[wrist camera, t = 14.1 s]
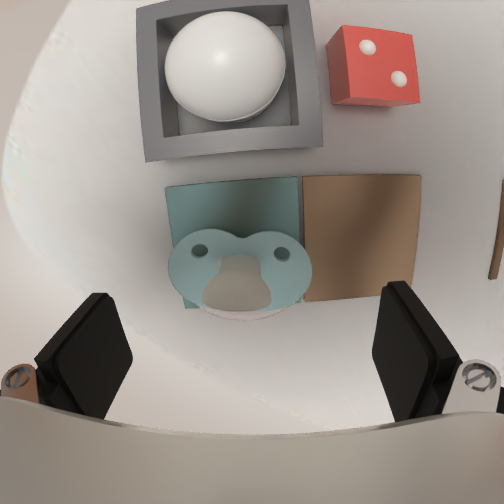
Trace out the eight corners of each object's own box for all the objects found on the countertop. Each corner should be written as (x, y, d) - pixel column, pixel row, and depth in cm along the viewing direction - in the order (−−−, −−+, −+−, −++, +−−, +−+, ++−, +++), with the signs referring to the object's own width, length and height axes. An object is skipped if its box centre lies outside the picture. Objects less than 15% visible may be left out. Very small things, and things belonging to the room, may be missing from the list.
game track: (509, 180, 16) (512, 181, 15) (494, 277, 18) (496, 278, 18) (166, 187, 17) (164, 188, 16) (186, 306, 19) (185, 308, 19)
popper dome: (276, 29, 13) (283, -12, 8) (284, 119, 15) (296, 112, 10) (178, 40, 13) (146, 6, 8) (184, 128, 15) (152, 127, 10)
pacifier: (298, 314, 19) (308, 224, 17) (311, 388, 13) (333, 278, 11) (183, 310, 19) (176, 220, 17) (159, 380, 14) (137, 271, 11)
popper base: (379, 16, 12) (406, -6, 9) (392, 145, 15) (425, 150, 12) (154, 25, 13) (129, 2, 9) (164, 157, 16) (138, 164, 12)
